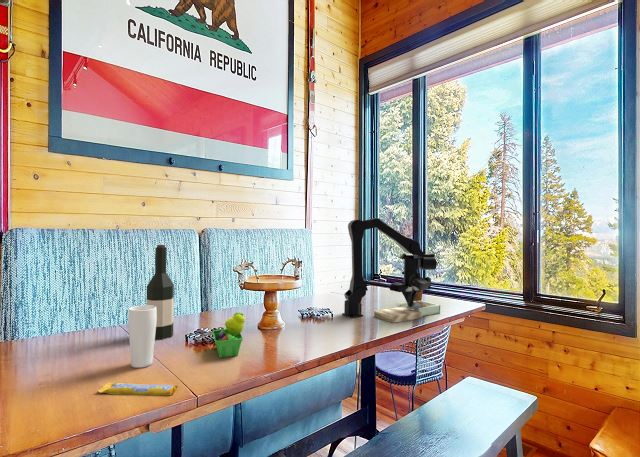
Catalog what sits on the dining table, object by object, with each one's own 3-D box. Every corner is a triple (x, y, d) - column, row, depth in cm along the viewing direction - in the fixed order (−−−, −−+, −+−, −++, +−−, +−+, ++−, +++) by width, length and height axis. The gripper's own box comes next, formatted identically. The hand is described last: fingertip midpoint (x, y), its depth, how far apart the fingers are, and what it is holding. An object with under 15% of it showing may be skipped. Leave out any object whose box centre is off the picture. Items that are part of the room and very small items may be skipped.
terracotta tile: (422, 302, 158) (427, 304, 159) (415, 300, 161) (420, 302, 163) (420, 311, 157) (425, 313, 159) (413, 309, 161) (418, 311, 162)
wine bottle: (163, 341, 117) (164, 246, 117) (140, 338, 119) (141, 245, 118) (178, 333, 125) (179, 244, 125) (156, 331, 127) (157, 244, 127)
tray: (418, 316, 154) (419, 308, 154) (400, 311, 163) (400, 303, 163) (440, 313, 161) (440, 305, 161) (420, 308, 170) (421, 300, 170)
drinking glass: (148, 358, 102) (149, 303, 102) (160, 364, 98) (161, 307, 98) (122, 365, 97) (123, 307, 97) (134, 371, 93) (135, 312, 93)
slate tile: (413, 309, 155) (415, 302, 156) (407, 307, 159) (408, 300, 159) (420, 311, 157) (422, 304, 158) (413, 309, 161) (415, 302, 161)
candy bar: (181, 390, 84) (181, 381, 84) (173, 398, 80) (173, 390, 80) (108, 387, 85) (108, 379, 85) (96, 396, 81) (97, 387, 80)
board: (392, 322, 144) (392, 316, 144) (374, 316, 153) (374, 310, 153) (421, 317, 152) (421, 312, 152) (402, 312, 161) (402, 306, 161)
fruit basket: (211, 346, 113) (212, 309, 112) (241, 344, 116) (241, 307, 116) (215, 359, 102) (215, 318, 102) (247, 356, 105) (248, 316, 105)
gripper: (408, 273, 145) (407, 313, 145) (441, 270, 155) (440, 308, 155) (389, 270, 154) (388, 307, 154) (420, 268, 164) (420, 303, 164)
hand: (410, 306), depth 157 cm, fingers closed
